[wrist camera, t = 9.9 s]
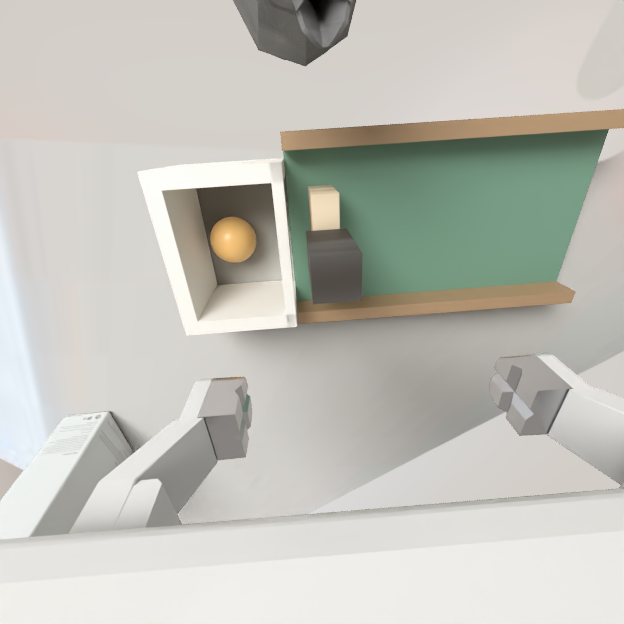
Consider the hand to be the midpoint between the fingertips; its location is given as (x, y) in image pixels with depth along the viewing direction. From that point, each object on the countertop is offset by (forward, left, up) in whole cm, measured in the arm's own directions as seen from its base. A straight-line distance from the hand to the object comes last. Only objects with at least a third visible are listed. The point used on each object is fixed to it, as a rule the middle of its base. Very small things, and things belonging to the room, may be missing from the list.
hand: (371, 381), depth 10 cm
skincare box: (+25, -30, -22) cm, 45 cm away
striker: (0, 0, -20) cm, 20 cm away
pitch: (0, +6, -22) cm, 23 cm away
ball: (0, -8, -20) cm, 21 cm away
